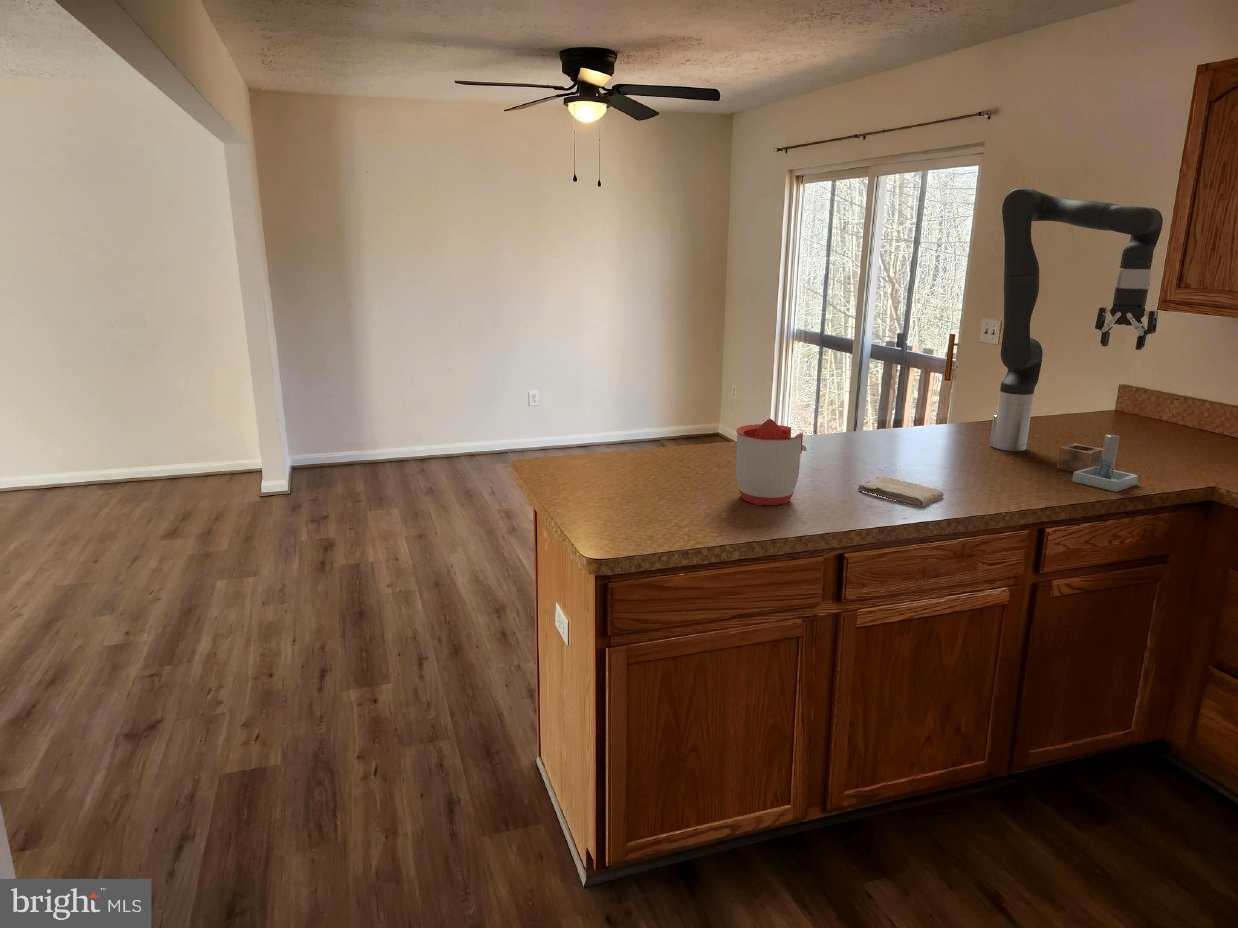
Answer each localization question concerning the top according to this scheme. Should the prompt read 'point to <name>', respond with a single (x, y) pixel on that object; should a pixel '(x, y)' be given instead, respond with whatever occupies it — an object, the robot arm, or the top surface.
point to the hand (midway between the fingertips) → (1121, 348)
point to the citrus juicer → (767, 462)
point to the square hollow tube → (1078, 457)
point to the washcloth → (901, 491)
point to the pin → (1108, 456)
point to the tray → (1116, 484)
